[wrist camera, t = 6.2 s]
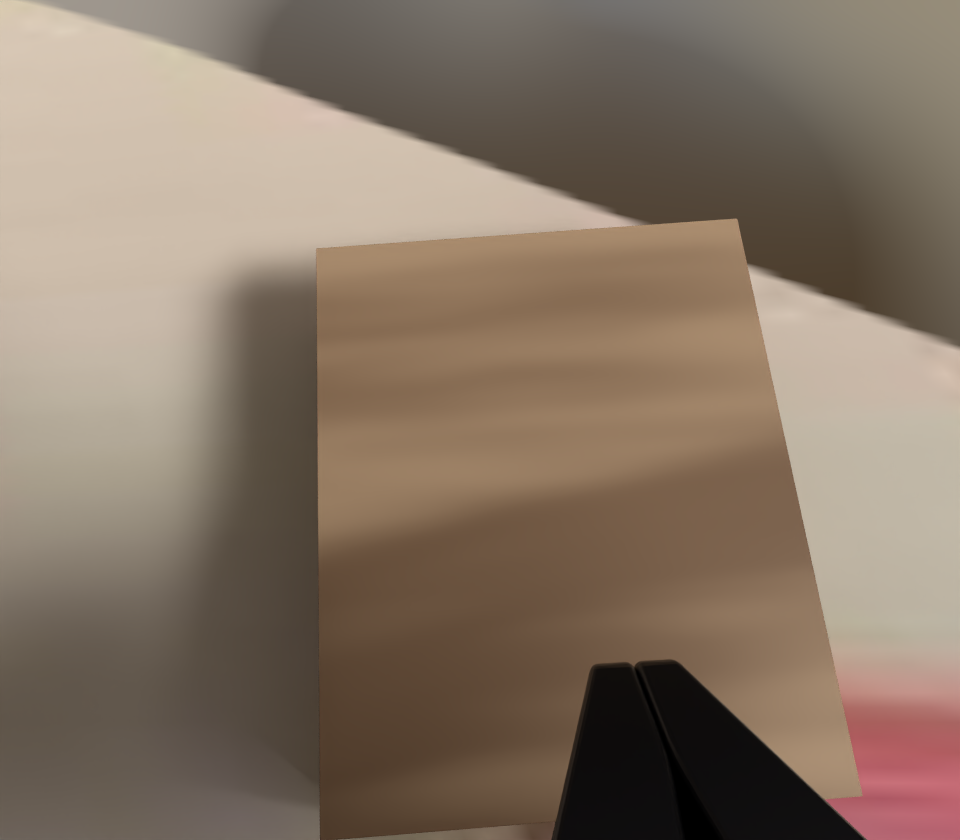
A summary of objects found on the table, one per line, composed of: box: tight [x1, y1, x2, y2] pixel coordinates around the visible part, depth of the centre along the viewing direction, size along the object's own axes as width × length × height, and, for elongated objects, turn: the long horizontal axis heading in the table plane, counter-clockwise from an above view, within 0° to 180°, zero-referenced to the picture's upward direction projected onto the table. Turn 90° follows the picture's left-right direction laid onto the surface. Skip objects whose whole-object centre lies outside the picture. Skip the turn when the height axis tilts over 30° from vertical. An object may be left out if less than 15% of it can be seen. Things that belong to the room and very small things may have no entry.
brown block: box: [316, 219, 862, 840], centre depth 15 cm, size 3×8×10 cm
